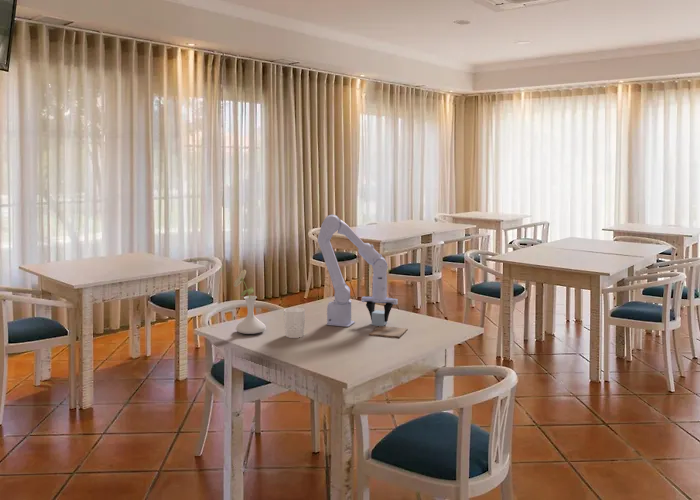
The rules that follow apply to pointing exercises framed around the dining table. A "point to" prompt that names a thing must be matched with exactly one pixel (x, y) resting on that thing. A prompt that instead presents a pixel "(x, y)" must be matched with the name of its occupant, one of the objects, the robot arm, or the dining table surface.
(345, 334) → the dining table surface
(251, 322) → the flower in vase
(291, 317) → the white cup
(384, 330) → the walnut board
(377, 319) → the blue cube
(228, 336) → the dining table surface
